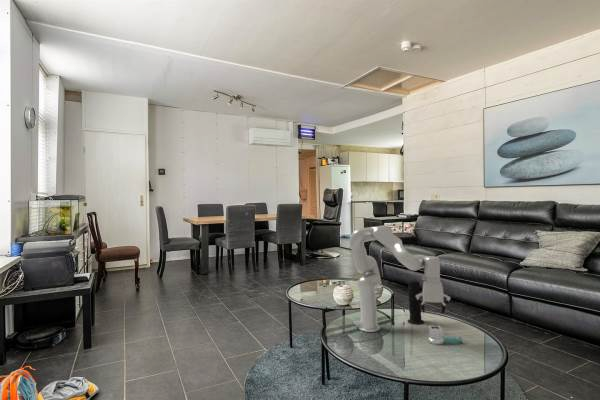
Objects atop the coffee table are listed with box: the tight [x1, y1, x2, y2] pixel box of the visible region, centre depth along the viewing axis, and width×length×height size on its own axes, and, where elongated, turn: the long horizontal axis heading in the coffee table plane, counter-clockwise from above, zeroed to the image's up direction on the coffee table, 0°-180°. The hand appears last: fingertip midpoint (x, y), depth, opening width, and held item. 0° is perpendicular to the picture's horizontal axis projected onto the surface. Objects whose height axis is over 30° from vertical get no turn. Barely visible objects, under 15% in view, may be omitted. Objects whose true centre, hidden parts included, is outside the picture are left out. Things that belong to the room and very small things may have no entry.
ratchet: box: [427, 328, 463, 346], centre depth 172 cm, size 16×8×7 cm, turn 77°
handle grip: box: [407, 278, 425, 326], centre depth 204 cm, size 10×26×10 cm
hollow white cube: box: [428, 325, 443, 340], centre depth 173 cm, size 6×6×5 cm
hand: (433, 312), depth 174 cm, fingers open, 9 cm apart
